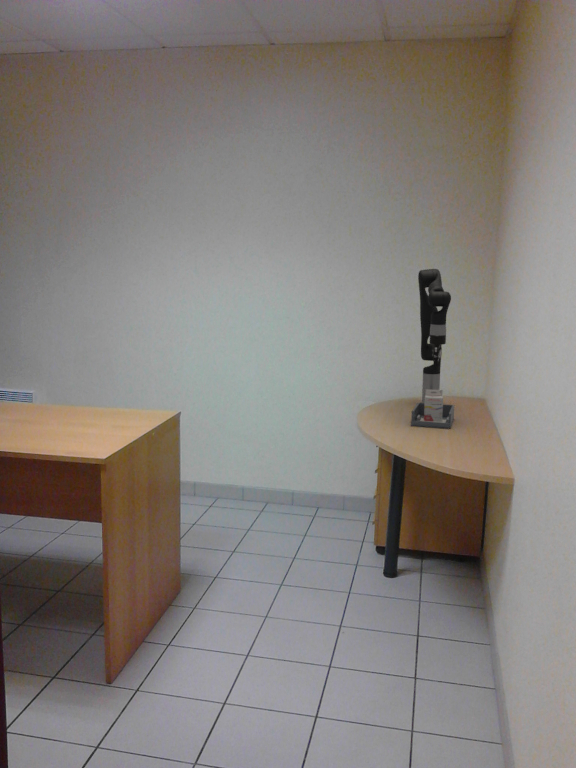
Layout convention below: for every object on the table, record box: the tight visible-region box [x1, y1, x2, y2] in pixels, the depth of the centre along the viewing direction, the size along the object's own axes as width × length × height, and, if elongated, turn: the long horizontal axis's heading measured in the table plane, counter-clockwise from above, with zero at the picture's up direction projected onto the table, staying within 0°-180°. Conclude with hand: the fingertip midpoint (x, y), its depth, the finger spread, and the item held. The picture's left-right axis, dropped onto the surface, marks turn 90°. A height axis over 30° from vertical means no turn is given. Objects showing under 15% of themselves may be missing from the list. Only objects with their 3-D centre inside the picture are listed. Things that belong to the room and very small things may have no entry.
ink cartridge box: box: [424, 389, 444, 422], centre depth 313 cm, size 9×5×15 cm, turn 82°
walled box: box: [410, 402, 455, 430], centre depth 313 cm, size 22×18×7 cm
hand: (436, 367), depth 311 cm, fingers open, 8 cm apart
